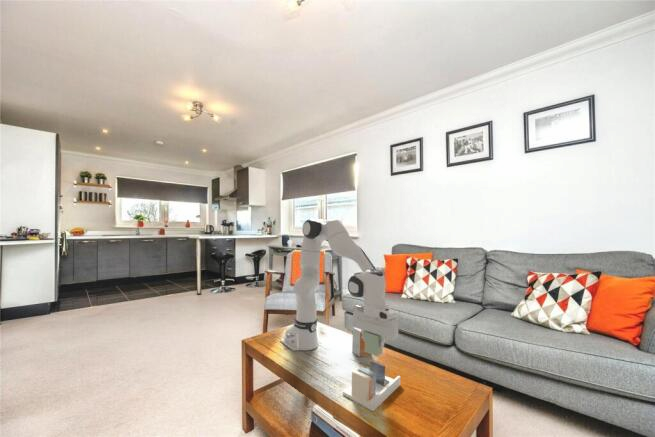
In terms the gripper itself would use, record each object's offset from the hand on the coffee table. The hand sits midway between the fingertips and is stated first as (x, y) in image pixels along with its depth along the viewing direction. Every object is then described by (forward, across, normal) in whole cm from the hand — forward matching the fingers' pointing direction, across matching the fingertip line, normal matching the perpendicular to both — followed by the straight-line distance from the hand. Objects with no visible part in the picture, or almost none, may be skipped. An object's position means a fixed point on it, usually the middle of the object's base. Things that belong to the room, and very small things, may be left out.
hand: (373, 343), depth 110 cm
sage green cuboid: (+4, 0, 0) cm, 4 cm away
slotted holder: (+19, 0, 0) cm, 19 cm away
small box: (+19, -21, +24) cm, 37 cm away
